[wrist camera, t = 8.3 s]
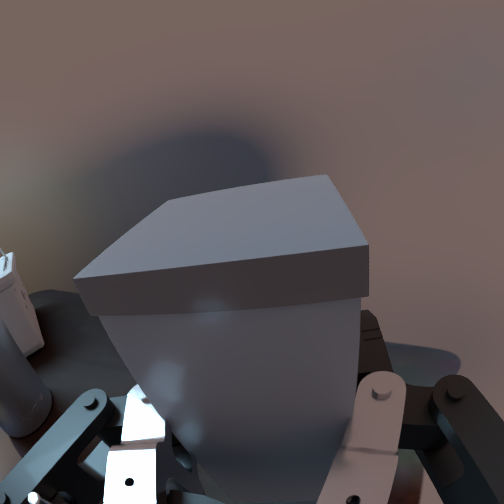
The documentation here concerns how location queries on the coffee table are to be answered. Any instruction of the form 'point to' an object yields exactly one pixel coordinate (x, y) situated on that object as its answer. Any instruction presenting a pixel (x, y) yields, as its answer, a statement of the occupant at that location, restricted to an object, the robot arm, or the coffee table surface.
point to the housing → (243, 328)
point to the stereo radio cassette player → (18, 308)
